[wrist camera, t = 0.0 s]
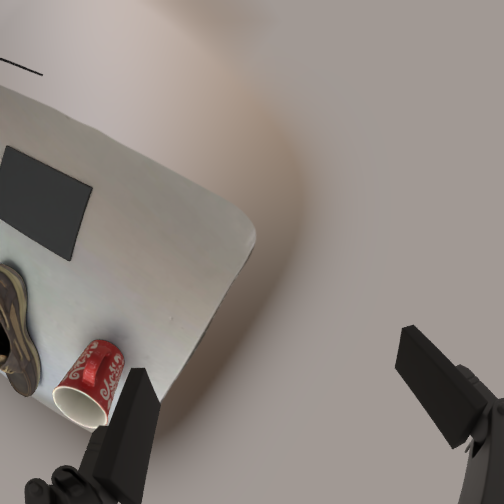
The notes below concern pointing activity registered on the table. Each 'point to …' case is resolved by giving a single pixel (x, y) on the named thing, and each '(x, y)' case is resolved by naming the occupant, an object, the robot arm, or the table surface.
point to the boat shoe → (16, 335)
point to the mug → (90, 385)
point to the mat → (41, 202)
